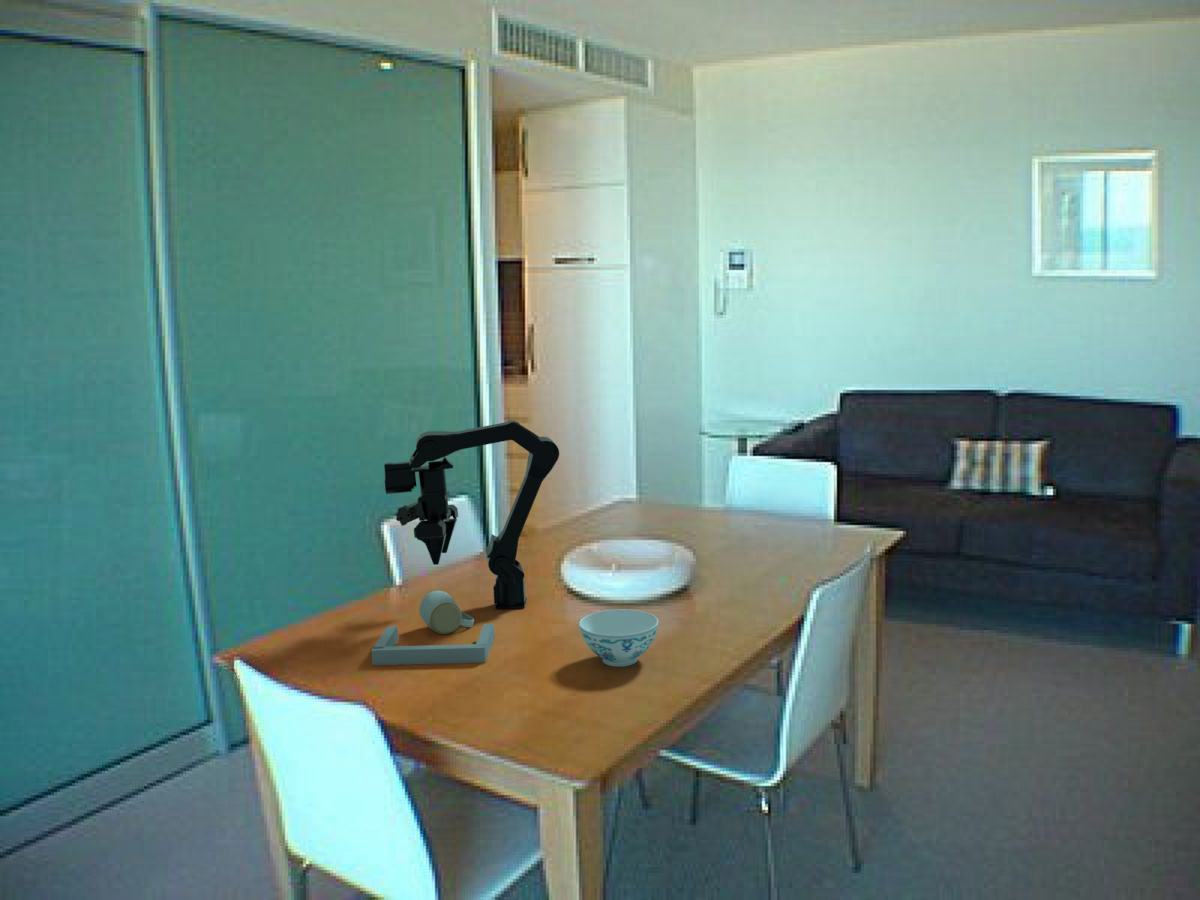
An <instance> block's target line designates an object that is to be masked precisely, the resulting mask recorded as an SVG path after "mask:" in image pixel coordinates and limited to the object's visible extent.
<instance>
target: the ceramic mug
mask: <svg viewBox="0 0 1200 900" xmlns="http://www.w3.org/2000/svg"><path fill="white" fill-rule="evenodd" d="M418 608H419V615H420V617H421V619H422V621H423V622H424V623H425V624H426V625H427V626H428V627H429V628H430V629H431V630H432V631H433V632H435V633H438V634H440V635H449V634H451V633H453V632H455V631H456V630H457V629H458V628H459V627H460V626H461V627H466V628H473V627H472V626H473V624H474V622H475V619H474V618H473V616H471V615H469V614H467V613H465V612H463V611H461V607H460V606H459V605H458V603H457V602H456V601H455V600H454V598H452V596H451V595H450V594H449V593H447V592H446V591H444V590H443V591H442V590H433V591H431V592H429V593H427V594H426V595H425V596H423V597H422V599H421V602H420V604H419V607H418Z"/></svg>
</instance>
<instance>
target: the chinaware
mask: <svg viewBox="0 0 1200 900" xmlns="http://www.w3.org/2000/svg"><path fill="white" fill-rule="evenodd" d="M578 624H579V630H580V633H581V636H582V639H583V641H584V642H585V645H586V646H587V647H588V649H590V651H591V652H593V654H595V655H596V656H597V657H599V658H601V659H602V662H603V664H605V665H607V666H610V667H627V666H631V665H634V664H635V663H637V662H638V658H639V657H641V656H642V655H643V654H644V653H646V651H647V650H648V649H649V648H650V646H651V645H652V644H653V642H654V640H655V637H656V635H657V631H658V627H659V619H658V617H656V616H655V615H653V613H649V612H646V611H642V610H638V609H627V608H624V609H622V608H621V609H608V610H607V609H606V610H600V611H596V612H593V613H590V614H588V615H585V616H584V617H582V618H581V620H579V623H578Z"/></svg>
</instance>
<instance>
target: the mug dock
mask: <svg viewBox="0 0 1200 900" xmlns="http://www.w3.org/2000/svg"><path fill="white" fill-rule="evenodd" d="M495 638H496V633H495V623H484V624H483V626H482V629H481V631H480V634H479V635H478V638H477V640H476V642H475V644H473V643H472V644H470V643H469V644H438V645H434V644H432V645H431V644H430V645H428V644H427V645H398V646H396V645H397V643H398V642H399V628H398V625H388V626H387V627H386V628H385V630H384V631H383V633H382V634H381V635H380V637H379V638H378V640H377V641H376V643H375V644H374V646H373V647H372V649H371V663H372V666H395V665H396V666H397V665H398V666H399V664H401V665H402V664H403V665H404V666H405V665H430V664H431V665H434V664H435V665H436V664H468V663H469V664H472V663H473V664H477V663H478V664H481V663H487V662H486V661H487V660H488V657H489V654H490V651H491V649H492V647H493V644H494V641H495ZM397 641H398V642H397ZM396 642H397V643H396ZM492 643H493V644H492ZM395 644H396V645H395Z"/></svg>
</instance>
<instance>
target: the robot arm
mask: <svg viewBox="0 0 1200 900" xmlns="http://www.w3.org/2000/svg"><path fill="white" fill-rule="evenodd" d="M507 441H508V442H509V441H513V442H514V443H516V444H517V445H518V446H520V447H522V449H524V450H525V451H527V452H528V457H527V461H526V470H525V475H524V476H523V479H522V481H521V484H520V486H519V490H518V491H517V494H516V497H515V498H514V501H513V504H512V506H511V509H510V511H509V513H508V516H507V518H506V521H505V523H504V526H503V528H502V530H501V532H500V533H499V534H498V535H497V536H496V535H494V534H493V533H492V534H491V535H490V539H489V540H490V541H489V543H488V545H487V547H486V548H485V549H484V551H485V556H486V563H487V566H488V568H489V571H490V572H491V573H492V574H493V575H494V576H496V578H495V582H494V584H493V603H494V605H495V609H496V610H497V609H498V610H500V609H524V608H525V607H526V604H527V601H528V597H527V596H526V579H525V578H526V576H525V572H524V568H523V566H522V564H521V563H520V562H519V560H517V554H518V548H519V547H518V546H519V540H520V536H521V534H522V532H523V530H524V527H525V525H526V522H527V520H528V517H529V515H530V512H531V510H532V508H533V505H534V503H535V500H536V498H537V495H538V493H539V490H540V488H541V485H542V483H543V481H544V480H545V479H546V477H547V476H548V475H549V474H550V473H551V472H552V469H553V468H554V467H555V465H556V463H557V461H558V460H559V457H560V450H559V447H558V446H557V445H556V443H555V442H554V441H553V440H552V439H551V438H550V437H548V436H539V435H538V434H535V432H534V431H531V430H530V429H528V428H527V427H525V426H523V425H522V424H521V423H520V422H519V421H517V420H515V419H510V420H507V421H506V422H505V421H504V422H500V423H495V424H494V423H493V424H489V425H483V426H480V427H479V426H478V427H473V428H470V429H469V428H468V429H464V430H457V431H448V430H447V431H446V430H434V431H433V430H430V431H424V432H422V433H420V435H418V437H417V439H416V442H415V447H416V448H415V450H414V452H413V453H412V454H411V456H410V458H409V460H408V461H403V462H401V461H400V462H385V463H384V464H383V467H384V488H385V494H386V495H395V494H402V493H403V494H405V493H413V490H414V489H415V488H417V486H418V485H417V476H416V473H418V480H419V481H418V483H419V489H420V490H419V491H420V496H418V498H417V501H415V502H412V503H411V504H408V505H406V504H404V505H403V506H400V507H398V508H397V511H396V512H395V516H396V518H395V520H396V521H397V522H399V523H400V525H401V527H403V526H406V525H407V524H408V523H411V522H413V521H415V520H417V519H418V520H419V523H418V524H416V526H415V527H414V528H413V536H414V538H415V539H417V540H418V541H420V542H422V543H424V544H425V547H426V549H427V551H428V555H429V557H430V559H431V561H432V564H433V565H435V566H436V565H439V564H440V561H441V556H442V554H446V553H447V552H448V550H449V546H450V543H451V540H452V538H453V533H454V529H455V527H456V525H457V524H456V523H457V520H458V519H457V518H458V517H459V511H458V507H457V505H455V504H449V498H450V497H449V496H450V491H449V490H448V488H447V477H446V476H447V475H446V470H448V469H453V468H454V464H453V462H451V461H450V460H449V459H448V458H447V456H450V455H452V454H453V453H456V452H458V451H461V450H464V449H465V450H466V449H470V448H476V447H480V446H486V445H491V444H492V445H493V444H496V443H501V442H507ZM440 459H441V460H440ZM426 463H427V464H428V465H425V464H426ZM451 517H452V518H451Z"/></svg>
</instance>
